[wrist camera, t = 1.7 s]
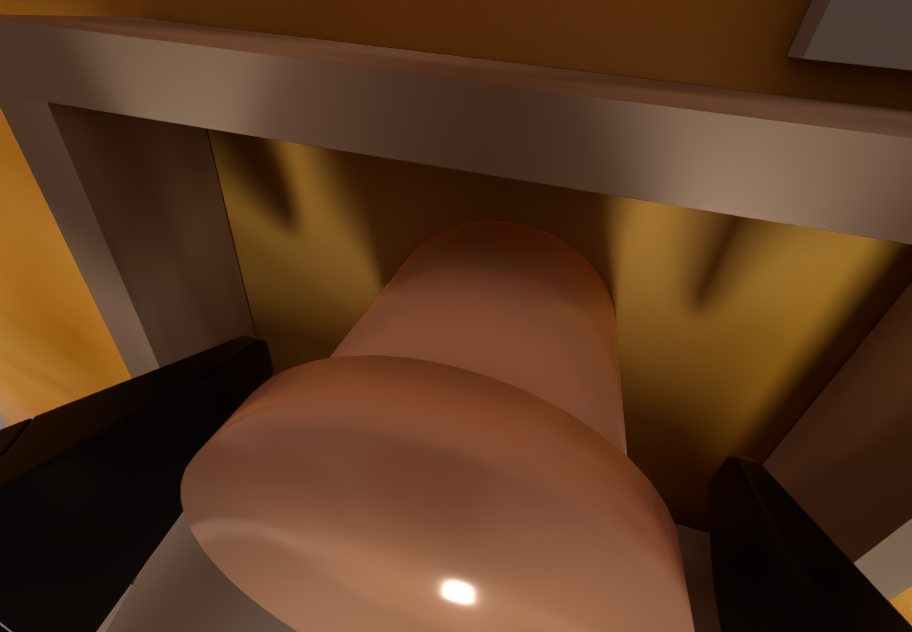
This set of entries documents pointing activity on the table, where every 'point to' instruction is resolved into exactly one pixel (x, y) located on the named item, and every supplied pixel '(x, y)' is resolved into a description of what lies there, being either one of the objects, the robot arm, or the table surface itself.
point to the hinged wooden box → (462, 148)
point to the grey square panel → (857, 33)
